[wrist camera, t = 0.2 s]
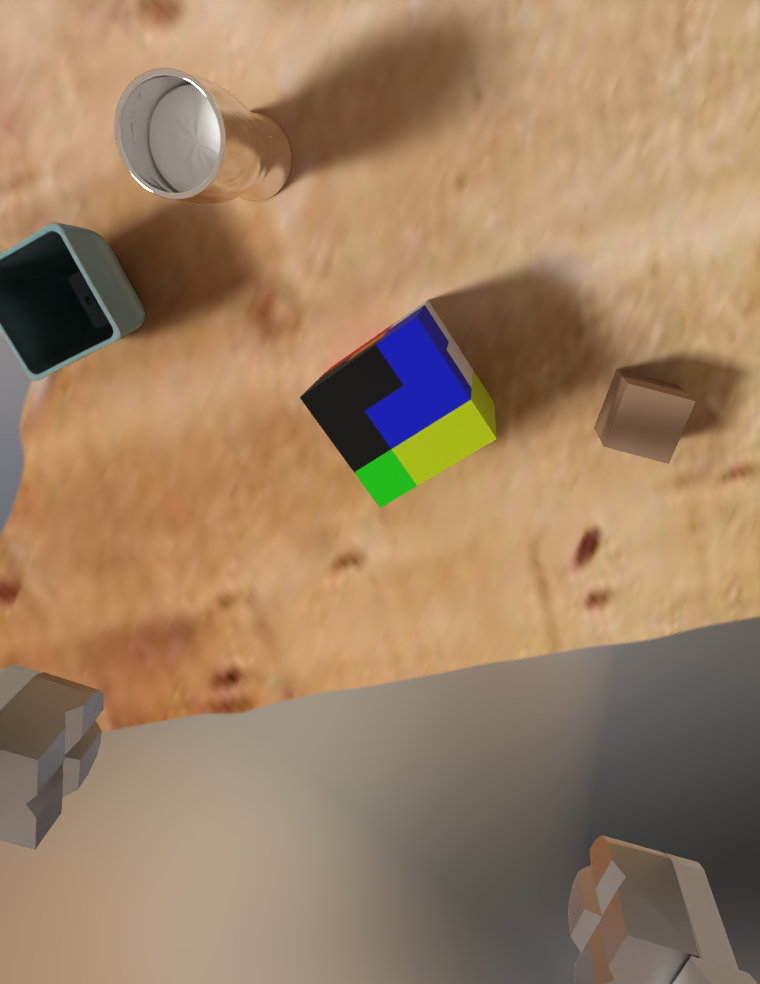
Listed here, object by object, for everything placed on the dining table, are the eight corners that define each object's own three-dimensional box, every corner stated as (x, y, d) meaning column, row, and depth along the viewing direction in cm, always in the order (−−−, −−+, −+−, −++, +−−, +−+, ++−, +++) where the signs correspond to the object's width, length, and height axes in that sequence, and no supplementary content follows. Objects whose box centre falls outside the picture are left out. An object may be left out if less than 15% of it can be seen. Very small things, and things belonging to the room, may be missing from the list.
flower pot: (175, 320, 57) (122, 337, 49) (93, 361, 60) (31, 384, 51) (120, 218, 55) (56, 219, 46) (38, 265, 57) (-37, 273, 49)
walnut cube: (616, 369, 54) (628, 383, 49) (677, 385, 53) (696, 401, 49) (594, 427, 55) (604, 446, 51) (653, 443, 55) (668, 463, 51)
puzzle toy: (428, 299, 54) (416, 316, 44) (494, 402, 56) (496, 438, 47) (329, 368, 57) (299, 397, 48) (396, 463, 59) (380, 508, 50)
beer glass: (282, 220, 53) (212, 221, 39) (200, 187, 53) (100, 177, 39) (309, 125, 50) (243, 91, 36) (222, 91, 50) (122, 43, 36)
